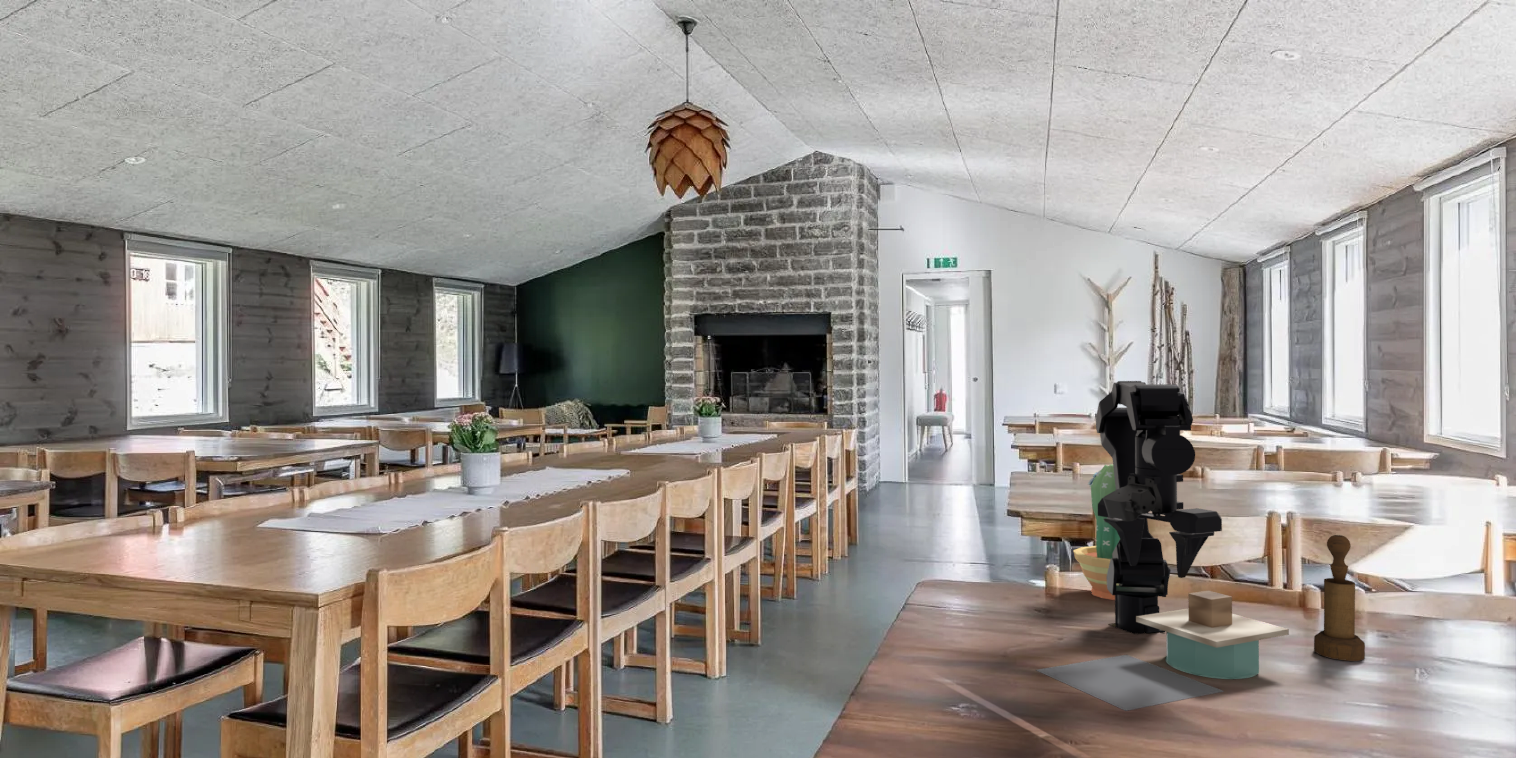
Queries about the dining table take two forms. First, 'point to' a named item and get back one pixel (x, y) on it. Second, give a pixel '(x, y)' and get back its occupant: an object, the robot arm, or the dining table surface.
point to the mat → (1128, 682)
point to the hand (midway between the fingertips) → (1156, 571)
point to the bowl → (1213, 658)
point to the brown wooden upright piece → (1339, 609)
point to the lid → (1212, 622)
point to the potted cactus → (1099, 537)
